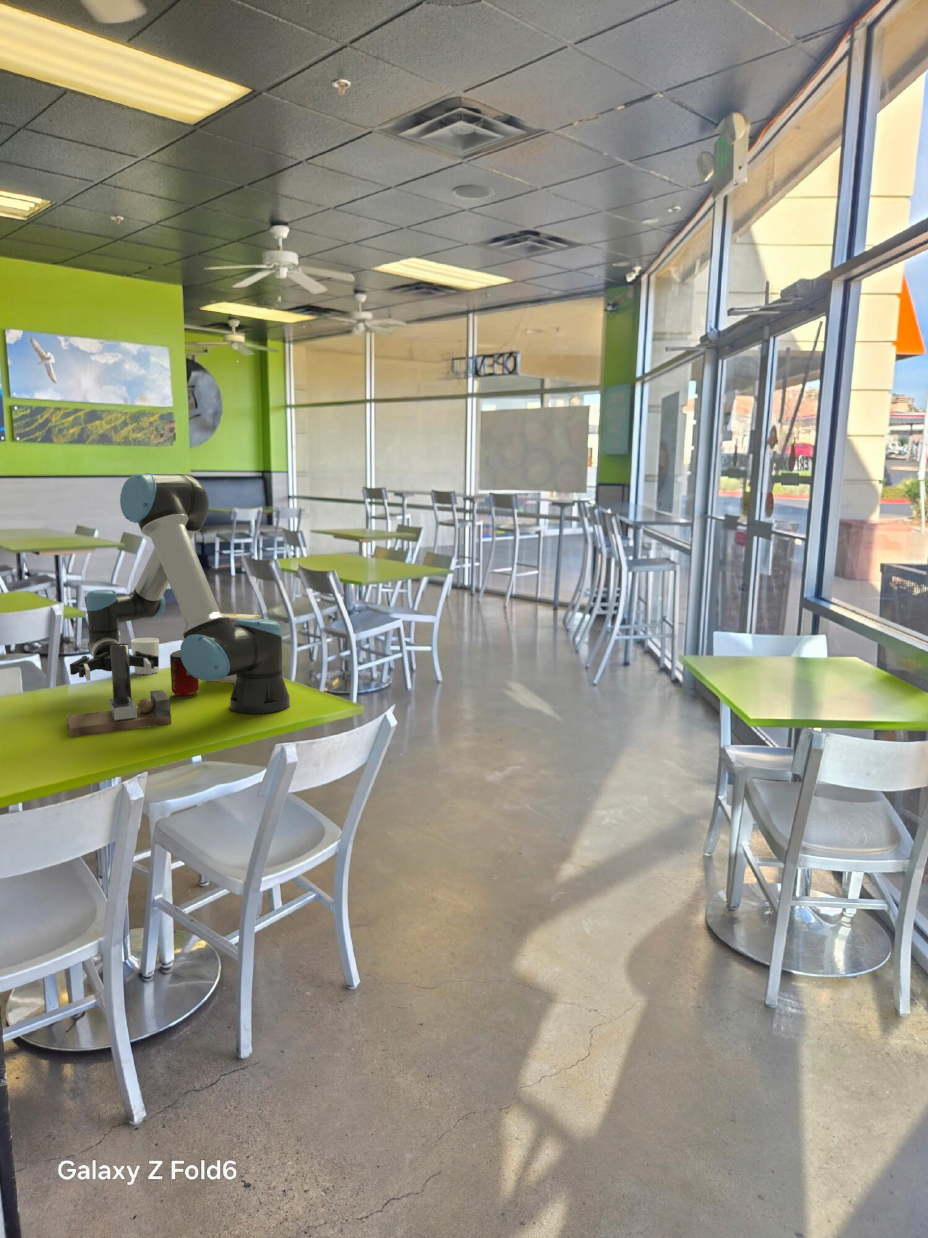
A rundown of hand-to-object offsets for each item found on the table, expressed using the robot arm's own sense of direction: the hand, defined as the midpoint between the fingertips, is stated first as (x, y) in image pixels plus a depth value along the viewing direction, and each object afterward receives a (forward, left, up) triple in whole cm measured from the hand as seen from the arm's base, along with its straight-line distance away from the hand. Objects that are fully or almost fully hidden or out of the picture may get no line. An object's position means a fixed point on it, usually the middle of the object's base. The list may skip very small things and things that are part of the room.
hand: (119, 672), depth 191 cm
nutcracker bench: (0, +1, -13) cm, 13 cm away
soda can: (-3, -26, -13) cm, 29 cm away
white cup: (+21, -48, -13) cm, 54 cm away
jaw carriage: (0, 0, -10) cm, 10 cm away
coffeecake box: (-9, -44, -13) cm, 47 cm away
